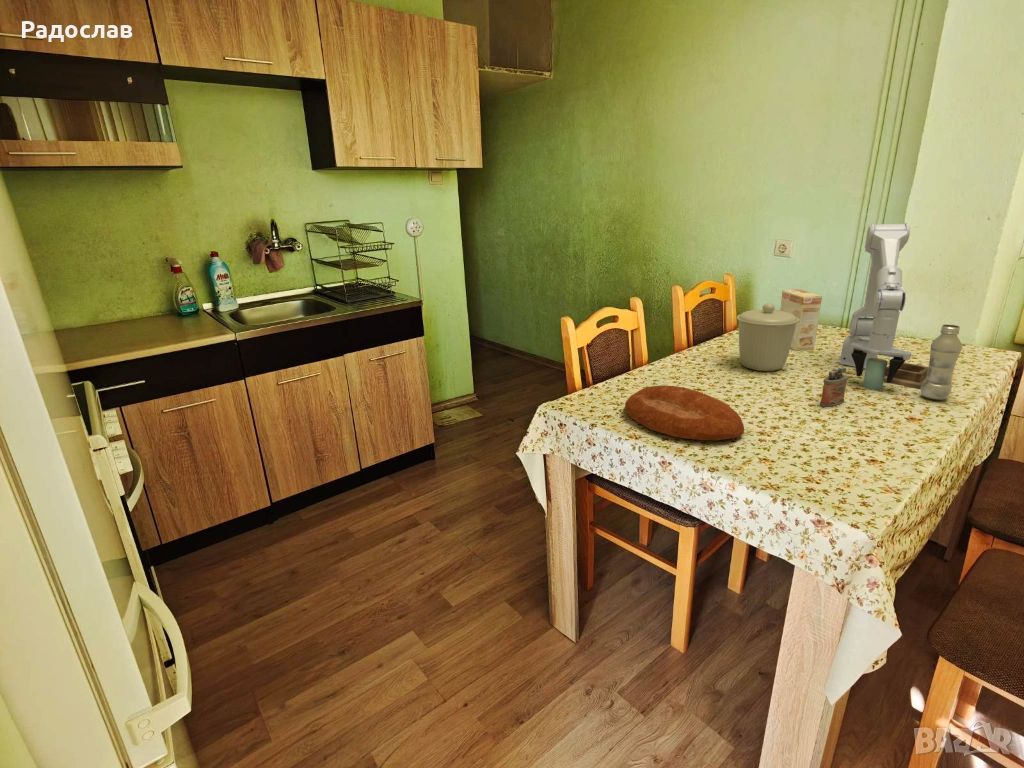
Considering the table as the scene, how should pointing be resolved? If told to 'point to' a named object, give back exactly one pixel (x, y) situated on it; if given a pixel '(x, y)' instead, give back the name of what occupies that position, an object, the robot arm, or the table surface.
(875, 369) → the roll
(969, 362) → the table surface
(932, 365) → the plastic bottle
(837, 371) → the lighter
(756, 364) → the canister
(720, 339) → the table surface
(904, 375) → the brown piece
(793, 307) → the coffeecake box
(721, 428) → the bread
